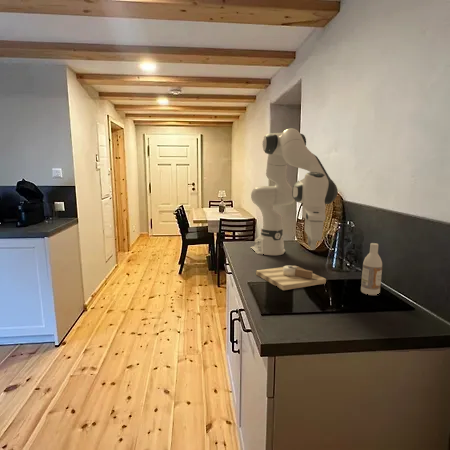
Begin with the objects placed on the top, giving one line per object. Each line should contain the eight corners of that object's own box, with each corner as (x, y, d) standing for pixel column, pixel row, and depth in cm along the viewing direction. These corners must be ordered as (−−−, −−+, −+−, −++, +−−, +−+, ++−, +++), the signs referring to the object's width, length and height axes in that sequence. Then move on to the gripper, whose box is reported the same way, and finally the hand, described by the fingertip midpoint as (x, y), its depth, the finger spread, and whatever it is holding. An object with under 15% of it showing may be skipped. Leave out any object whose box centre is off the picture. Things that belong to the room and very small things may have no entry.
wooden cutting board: (256, 274, 152) (256, 270, 152) (295, 269, 161) (295, 264, 161) (283, 290, 133) (283, 285, 132) (325, 283, 142) (326, 278, 141)
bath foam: (373, 297, 127) (377, 246, 123) (357, 291, 132) (361, 243, 129) (383, 293, 130) (388, 244, 127) (367, 288, 136) (371, 241, 133)
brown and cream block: (280, 274, 146) (281, 266, 145) (286, 271, 151) (286, 263, 150) (308, 280, 138) (309, 271, 138) (314, 276, 143) (314, 268, 143)
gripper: (301, 210, 141) (300, 241, 144) (309, 216, 121) (307, 253, 124) (316, 210, 141) (315, 242, 143) (326, 217, 121) (324, 253, 123)
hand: (311, 247), depth 133 cm, fingers open, 5 cm apart
